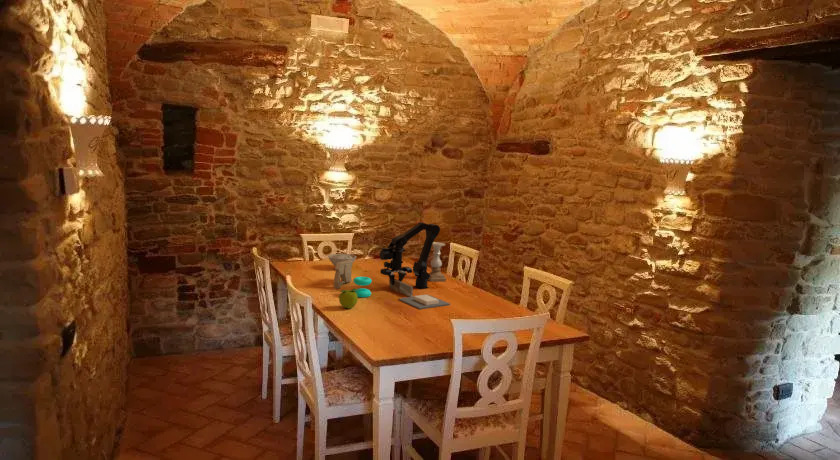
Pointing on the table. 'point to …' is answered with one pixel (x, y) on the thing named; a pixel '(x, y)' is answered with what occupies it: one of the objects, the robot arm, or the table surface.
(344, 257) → the bowl
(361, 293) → the donuts
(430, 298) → the tile
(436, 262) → the candle holder
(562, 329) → the table surface
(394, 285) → the brown upright panel
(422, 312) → the table surface
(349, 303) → the fruit
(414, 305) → the grey square plate
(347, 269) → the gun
